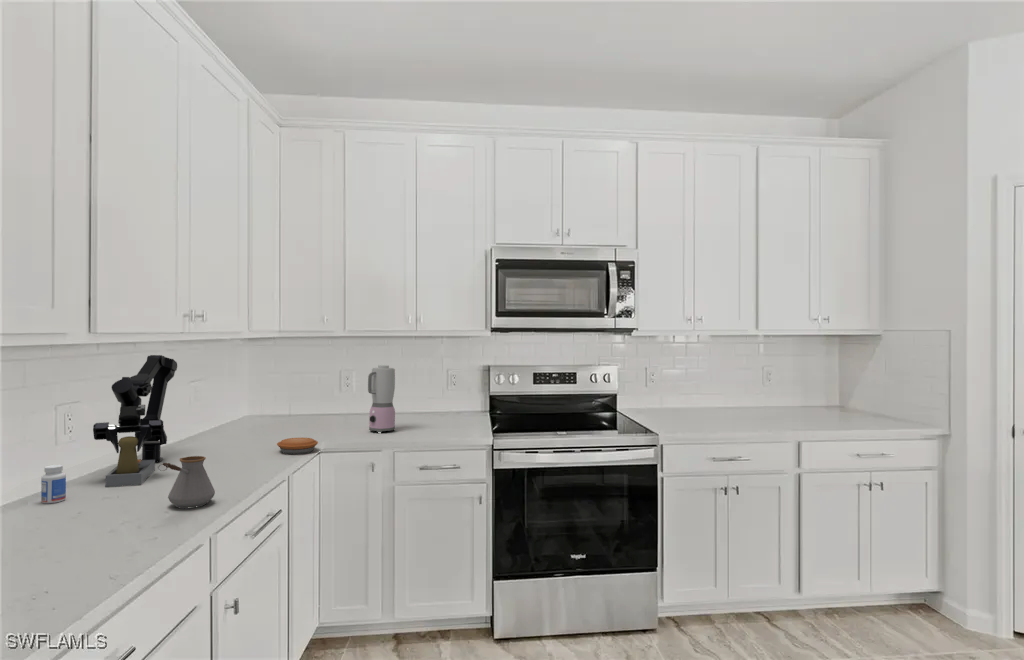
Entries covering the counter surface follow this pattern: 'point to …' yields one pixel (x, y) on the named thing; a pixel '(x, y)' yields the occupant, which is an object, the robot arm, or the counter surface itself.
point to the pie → (297, 445)
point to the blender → (382, 398)
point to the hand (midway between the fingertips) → (127, 451)
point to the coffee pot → (190, 483)
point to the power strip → (131, 475)
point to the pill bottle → (53, 484)
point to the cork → (127, 456)
